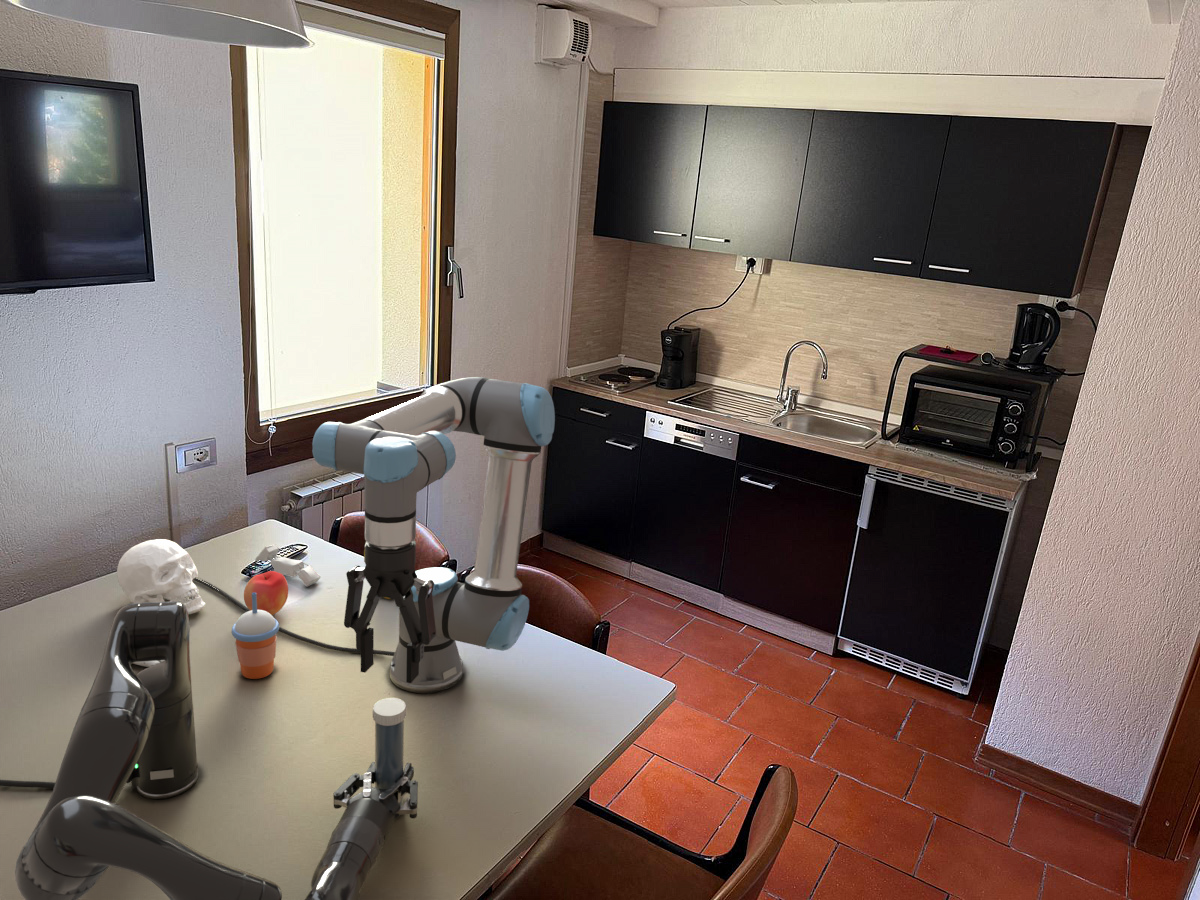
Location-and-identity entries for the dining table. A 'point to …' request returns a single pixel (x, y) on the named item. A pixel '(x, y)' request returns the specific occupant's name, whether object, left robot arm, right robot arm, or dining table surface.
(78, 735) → the left robot arm
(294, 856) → the dining table surface
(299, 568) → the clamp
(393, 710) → the lid
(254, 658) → the cup with straw
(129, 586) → the skull
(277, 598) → the apple
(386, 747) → the jar
